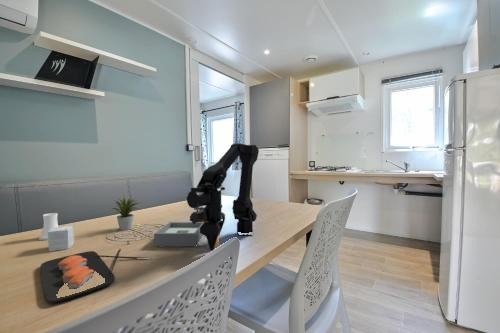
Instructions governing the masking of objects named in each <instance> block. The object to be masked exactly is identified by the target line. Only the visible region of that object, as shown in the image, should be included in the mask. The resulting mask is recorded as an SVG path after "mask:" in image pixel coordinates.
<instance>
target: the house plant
mask: <svg viewBox="0 0 500 333" xmlns="http://www.w3.org/2000/svg"><path fill="white" fill-rule="evenodd" d="M132 196H133V195H131V196H129V198H128V199H127V201H126V198H125V195H124V194H123V196H122V198H121V199H119V198H118V200H119V201H117V200H115V199H114V200H113V201H112V203H113V204H116V205H117V206H118V208H116V207H112V208H111V210H115V214H116V215H117V214H118V213H119V214H120V215H118V216H116V220H117V224H118V227H119V230H120V231H129V230H132V229H133V224H134V223H133V222H134V216H135V215H134V214H132V212H133V211H134V212H136V210H137V209H140V206H139V204H142V203H143V202H142V201H140V202H137V201H139V199H138V198H137V197H134V198H132ZM131 198H132V199H131ZM141 199H142V198H140V200H141ZM135 205H137V206H136V207H135Z"/></svg>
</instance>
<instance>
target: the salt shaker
mask: <svg viewBox="0 0 500 333" xmlns="http://www.w3.org/2000/svg"><path fill="white" fill-rule="evenodd" d="M58 216H59V215H58V212H51V213H50V212H49V213H44V214H42V218H43V228H42V231H41V234H40V236H39V237H38V238H39V240H40V241H48V232H49V231H50V230H52V229H53V228H54V227H59V222H58Z"/></svg>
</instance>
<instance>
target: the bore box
mask: <svg viewBox="0 0 500 333" xmlns="http://www.w3.org/2000/svg"><path fill="white" fill-rule="evenodd" d="M203 223H204V222H196V223H195V224H193V223H192V221H177V222H176V221H169V222H168V223H166V224H165V225H164V226H162V227H161V228H160V229H159V230H157V231H156V232H154V233H153V245H154V246H196V245H197V244H198V245H199V243H200V242H201V240H202V239H203V237H204V236H203V235H202V234H201V233H200V227H201V226H202V224H203ZM202 236H203V237H202ZM201 238H202V239H201ZM200 239H201V240H200ZM199 241H200V242H199ZM198 242H199V243H198ZM198 245H197V246H198ZM154 246H153V247H154ZM197 246H196V247H197Z"/></svg>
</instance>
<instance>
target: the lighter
mask: <svg viewBox="0 0 500 333" xmlns="http://www.w3.org/2000/svg"><path fill="white" fill-rule="evenodd" d="M204 207H205V206H201V207H196V208H193V212H192V213H194V212H198V211H201V210H204ZM199 222H204V220H202V221H199ZM207 222H208V221H207Z"/></svg>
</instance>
